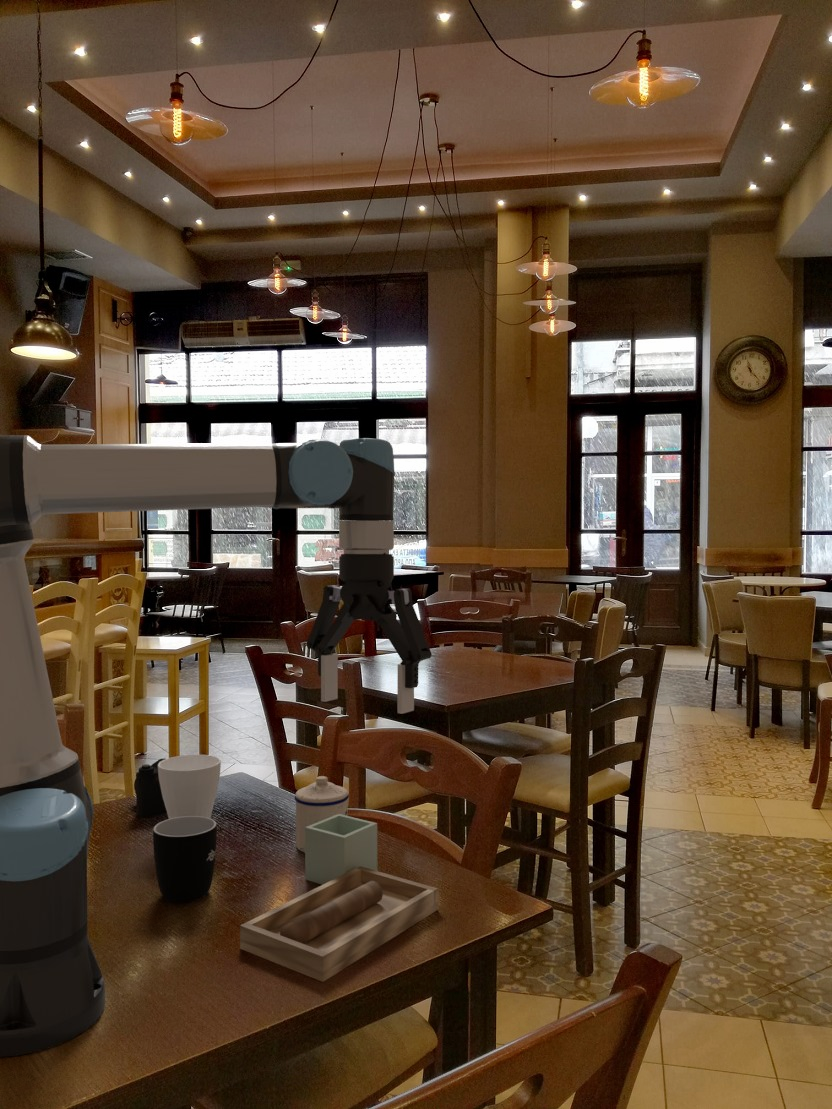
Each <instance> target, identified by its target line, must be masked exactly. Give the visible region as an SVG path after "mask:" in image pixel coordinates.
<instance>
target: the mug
mask: <svg viewBox="0 0 832 1109" xmlns="http://www.w3.org/2000/svg"><path fill="white" fill-rule="evenodd" d="M217 826H218V825H217V822H216V820H214V819H212V818H211V819H210V818H207V817H201V816H184V817H176V818H172V819H165V820H163V821H160V822H158V823H157V824H155V826H154V827H153V830H152V844H153V855H154V866H155V867H154V868H155V873H156V874H155V875H156V879H157V880H156V881H157V884H158V888H159V891H160V894H161V896H162V898H163V899H164V900H165V901H167V902H170V903H175V904H186V903H187V904H188V903H193V902H196V901H199V900H201V899H203V898H204V897H206V896H207V895H208V893H209V891H210V890H211V885H212V883H213V877H214V871H215V864H216V853H217V839H218V838H217V836H218V833H217V832H218V831H217V830H218V828H217Z"/></svg>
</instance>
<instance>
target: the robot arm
mask: <svg viewBox="0 0 832 1109" xmlns="http://www.w3.org/2000/svg"><path fill="white" fill-rule="evenodd" d="M394 458H395V457H394V448H393V446H392V444H391V443H390V441H388V440H385V439H381V438H370V437H362V438H360V437H359V438H358V437H357V438H356V437H355V438H346V439H343V440H341V441H340V442H339V444H337V443H336V442H333V441H330V440H325V439H310V440H307V441H305V442H278V443H270V442H238V443H237V442H235V443H233V442H232V443H231V442H230V443H228V442H227V443H225V442H224V443H223V442H219V443H217V442H216V443H215V442H214V443H202V442H201V443H107V444H106V443H102V444H101V443H100V444H99V443H98V444H97V443H94V444H93V443H92V444H91V443H89V444H87V443H83V444H76V443H75V444H74V443H73V444H40V443H38V441H36V440H35V439H34V438H32V437H31V436H30V435H27V434H26V435H25V434H24V435H22V434H20V435H19V434H18V435H17V434H16V435H14V434H11V435H9V434H0V1057H12V1056H13V1057H14V1056H21V1055H27V1054H32V1053H36V1052H40V1051H43V1050H47V1049H50V1048H52V1047H56V1046H58V1045H60V1044H64V1043H65V1042H68V1041H69V1040H71V1039H73V1038H75V1037H77V1036H78V1035H80V1034H82V1033H83V1032H85V1031H86V1030H87V1029H89V1028H90V1027H91V1026H93V1025H94V1024H95V1023H96V1022H97V1020H98V1019H99V1018H100V1017H101V1016H102V1014H103V1011H104V1009H105V1007H106V983H105V978H104V976H103V973H102V970H101V968H100V966H99V963H98V960H97V958H96V955H95V952H94V949H93V946H92V944H91V941H90V939H89V936H88V935H89V934H88V933H89V932H88V928H89V927H88V922H89V921H88V855H89V847H90V846H89V845H90V836H91V831H92V828H93V827H92V826H93V819H94V806H93V801H92V798H91V795H90V794H89V792H88V788H87V787H85V782H84V778H83V773H82V769H81V764H80V760H79V756H78V754H77V752H75V751H73V750H72V749H70V748H68V747H66V746H65V745H64V744H63V741H62V738H61V737H62V736H61V732H60V727H59V722H58V718H57V712H56V709H55V708H56V707H55V703H54V702H55V701H54V697H53V693H52V688H51V684H50V679H49V674H48V669H47V664H46V660H45V654H44V649H43V644H42V640H41V634H40V631H39V630H40V629H39V624H38V619H37V614H36V610H35V606H34V600H33V597H32V590H31V586H30V581H29V577H28V576H29V575H28V571H27V567H26V563H25V562H26V561H25V557H26V555H27V553H28V552H29V550H30V549H31V547H32V546H33V544H34V543H35V539H34V535H33V529H32V525H34V524H35V523H36V522H38V520H39V519H41V517H43V516H45V515H62V514H68V515H69V514H91V513H92V514H94V513H118V512H146V511H147V512H148V511H149V512H150V511H152V512H153V511H176V510H177V511H179V510H180V511H182V510H211V509H232V508H233V509H235V508H236V509H237V508H238V509H239V508H270V509H273V510H274V509H275V510H279V509H332V510H333V509H338V513H339V515H338V516H339V518H338V519H339V522H338V523H339V524H338V526H339V527H338V530H339V532H338V536H339V537H338V538H339V539H338V548H339V549H340V550H342V551H343V553H342V554H341V553H340V555H339V557H338V564H339V567H338V572H339V573H338V574H339V576H338V578H339V579H340V580H341V582H342V585H339V584H336V585H335V584H333V585H325V586H324V588H323V594H322V602H321V604H320V607H319V610H318V613H317V615H316V617H315V620H314V621H313V622H314V623H313V626H312V629H311V631H310V634H309V636H308V638H307V640H306V648H307V649H309V650H312V651H315V653H316V654H317V674H318V676H319V677H320V702H326V703H327V702H329V701H334V700H338V698H339V696H338V693H339V692H338V691H339V689H338V686H339V684H338V683H339V681H338V679H339V675H338V674H339V672H338V671H339V670H338V668H339V667H338V665H339V662H338V658H339V657H338V656H339V654H338V653H335V652H336V647H337V646H338V644H339V643H340V641H341V640H342V638H343V637H344V636H345V634H346V632H347V631H348V630H349V628H350V627H351V625H352V624H353V623H354V621H356V620H357V621H358V620H363V621H366V622H367V621H368V622H372V621H374V622H375V623H376V624H377V625H378V626H380V628H381V629H382V630H383V632H384V634H385V635H386V637H387V639H388V640H389V642H390V644H391V645H392V646H393V648H394V650H395V651H396V653H397V655H398V656H399V658H400V660H401V662H400V663H398V664H397V692H396V693H397V695H396V696H397V698H396V699H397V714H401V715H402V714H406V713H410V712H414V711H415V688H418V685H419V664H420V662H422V661H425V660H429V659H430V658H432V651H431V649H430V646H429V643H428V641H427V638H426V636H425V633H424V631H423V628H422V626H421V623H420V620H419V618H418V615H417V612H416V610H415V608H414V604H413V593H412V590H411V589H410V588H398V589H394V590H393V587H392V581H393V580H394V578H395V571H394V570H395V569H394V568H395V560H394V559H395V557H394V556H393V554H392V553H390V551H391V550H393V549H394V545H395V543H394V542H395V540H394V538H395V537H394V536H395V535H394V533H395V532H394V527H395V526H394V507H395V505H394V503H395V502H394V500H395V477H396V473H395V472H396V471H395V459H394ZM341 601H342V602H343V604H342V605H341V607H340V603H341ZM391 604H393V605H394V608H395V611H394V609H393V608H392V605H391ZM339 607H340V608H339ZM335 617H336V618H335ZM397 618H398V619H397ZM398 620H399V621H398Z"/></svg>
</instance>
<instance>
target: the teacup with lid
mask: <svg viewBox="0 0 832 1109" xmlns="http://www.w3.org/2000/svg"><path fill="white" fill-rule="evenodd" d="M349 797H350V794H349V791H348V790H347V789H346V787H343V786H341V785H336V784H335V783H333V782H331V781H329V779H328V777H327V776H324V775H320V776H316V778H315V782H312V783H310V784H309V785H307V786H305V787H301V788H300V789H298V790H297V791H296V792H295V795H294V801H295V841H296V842H295V846H296V849H297V850H299V851H300V852H302V853H304V854H305V827H307V826H310V825H312V824H315V823H317V822H320V821H322V820H325V819H327V818H329V817H332V816H334V815H337V814H342V815H346V816H349V815H348V813H349V812H348V808H349V807H348V799H349Z"/></svg>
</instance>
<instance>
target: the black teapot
mask: <svg viewBox="0 0 832 1109" xmlns="http://www.w3.org/2000/svg"><path fill="white" fill-rule="evenodd" d="M165 759H166V758H165V757H163V758H160V759H158V760H157V761H155V762H154V763H152V764H151V765H150V764H148V763H147V764H142V765H141V767H139V768H138V771H137V772H136V773H135V779H134V783H133V788H134V789H133V790H134V792H135V795H136V797H135V798H136V813H135V814H136V816H137V817H138V818H143V819H147V818H152V817H157V816H161V815H165V814H167V810H166V807H165V804H164V800H163V797H162V792H161V787H160V782H159V775H158V764H159V762H161V761H162V760H165Z"/></svg>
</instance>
